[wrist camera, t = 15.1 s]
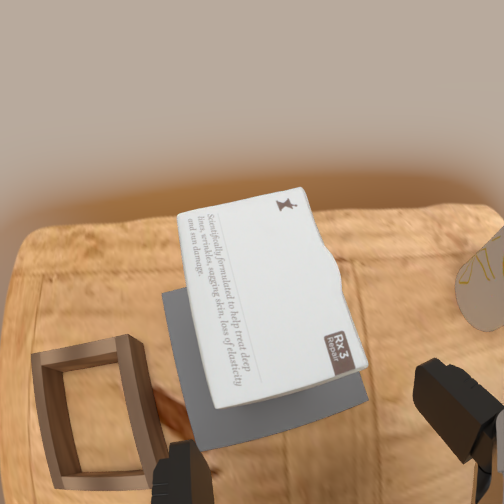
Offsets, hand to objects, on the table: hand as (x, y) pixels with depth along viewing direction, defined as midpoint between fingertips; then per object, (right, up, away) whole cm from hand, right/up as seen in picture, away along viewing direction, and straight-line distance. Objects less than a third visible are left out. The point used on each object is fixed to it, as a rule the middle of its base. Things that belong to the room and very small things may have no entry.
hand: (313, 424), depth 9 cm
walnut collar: (-15, -9, +13) cm, 22 cm away
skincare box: (-1, -2, +15) cm, 16 cm away
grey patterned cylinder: (+23, +1, +17) cm, 28 cm away
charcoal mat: (-1, -2, +16) cm, 16 cm away
